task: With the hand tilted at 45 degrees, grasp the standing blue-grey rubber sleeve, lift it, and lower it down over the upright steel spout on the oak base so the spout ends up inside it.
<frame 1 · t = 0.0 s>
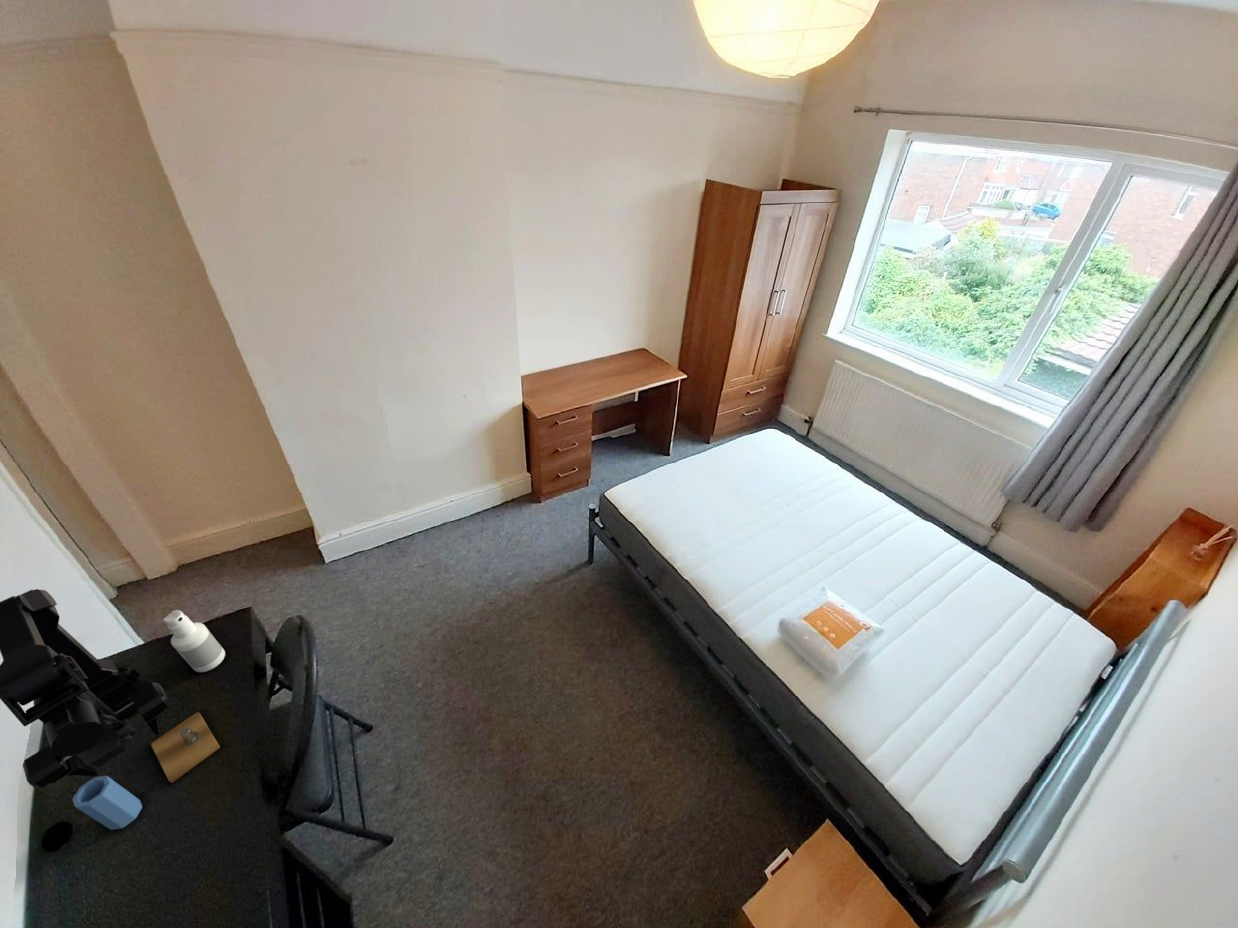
hand: (128, 752, 94), 15 cm above the table, tool pointing down, fingers open, 9 cm apart
spray bottle: (210, 660, 126), on the table
sleeve: (125, 814, 98), on the table
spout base: (186, 746, 109), on the table
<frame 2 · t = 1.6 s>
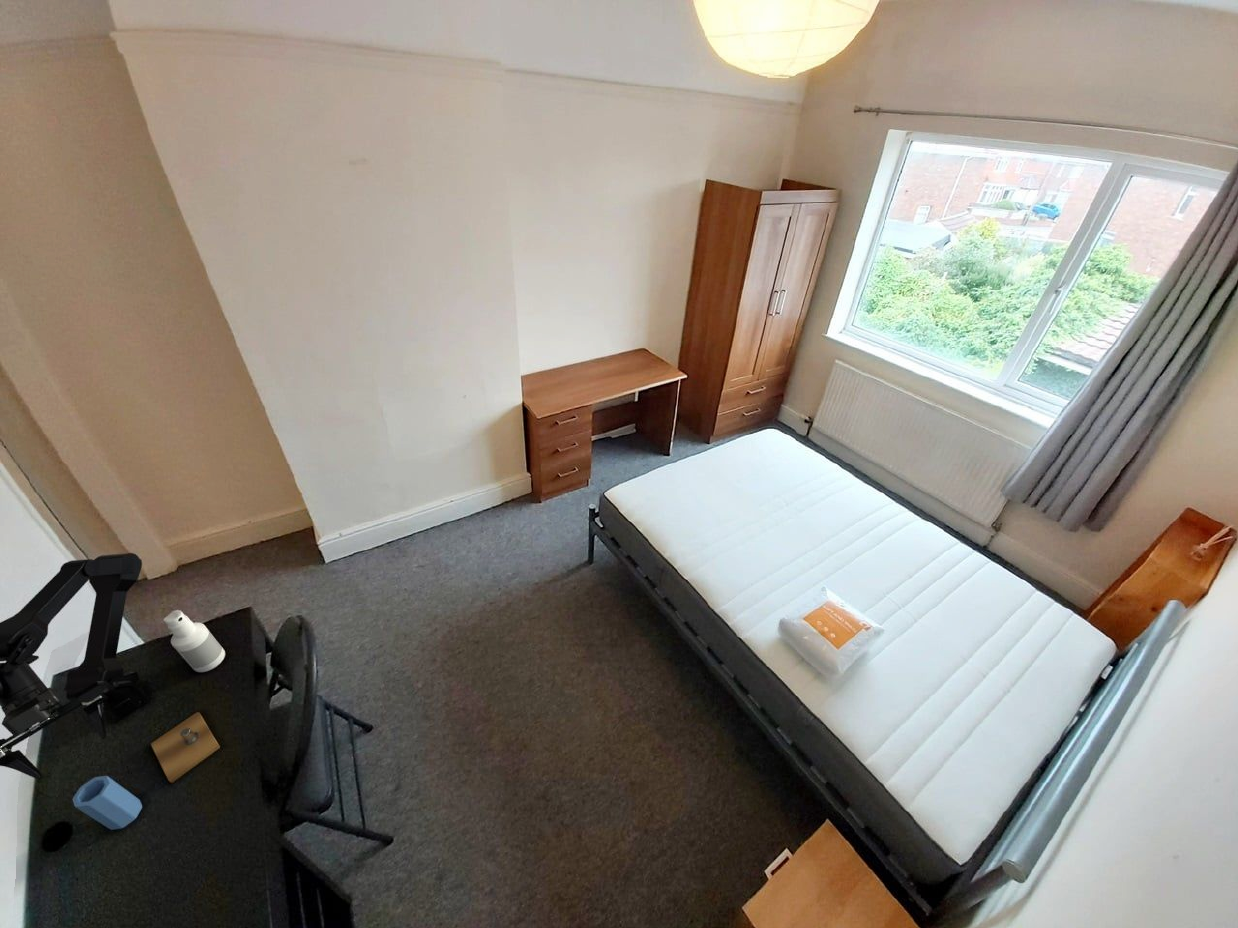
hand: (73, 757, 94), 13 cm above the table, tool tilted 45°, fingers open, 9 cm apart
nothing on the table moved.
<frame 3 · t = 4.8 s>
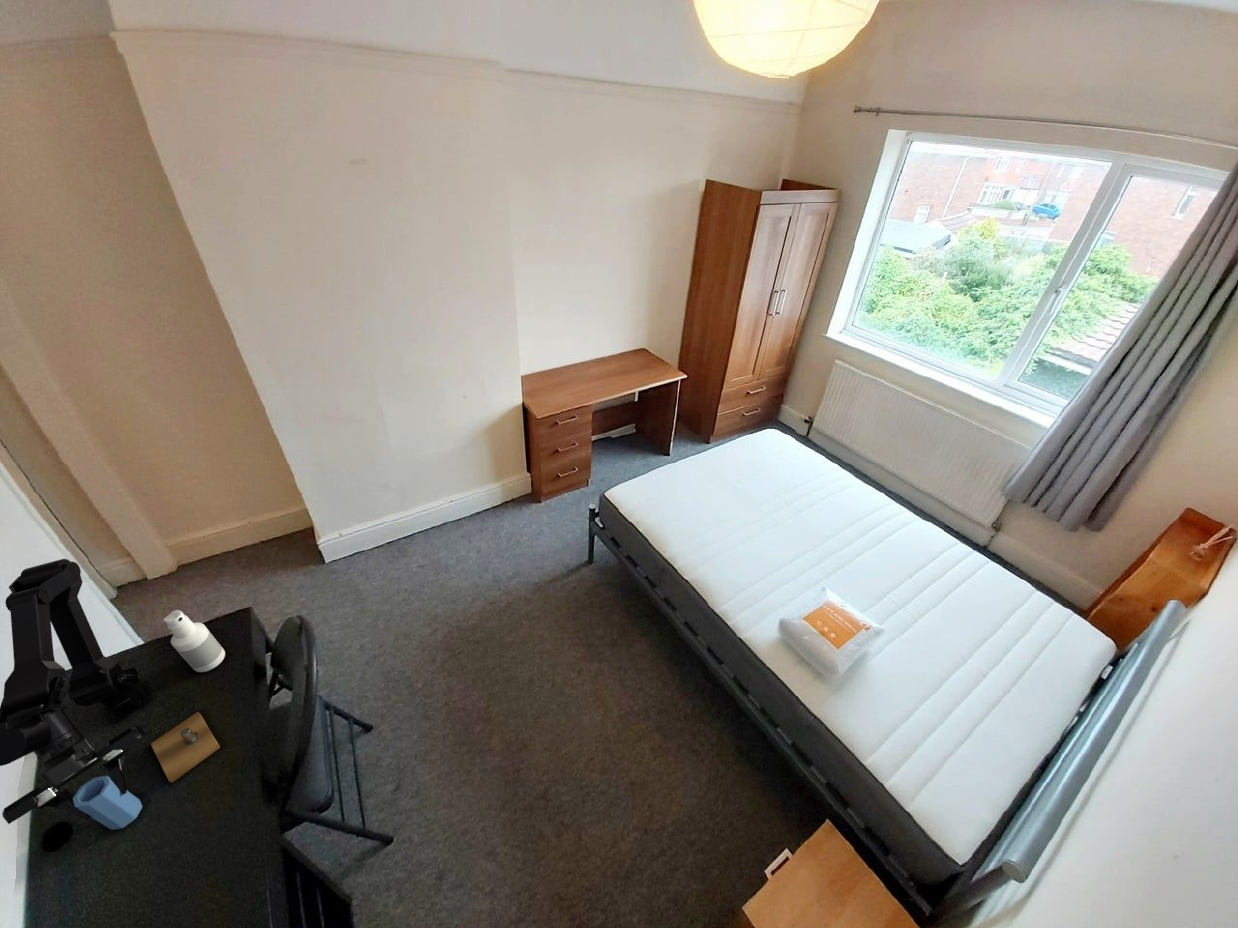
hand: (107, 805, 94), 7 cm above the table, tool tilted 45°, fingers closed on sleeve, 5 cm apart
sleeve: (125, 814, 98), on the table, touching gripper
everything else where it was.
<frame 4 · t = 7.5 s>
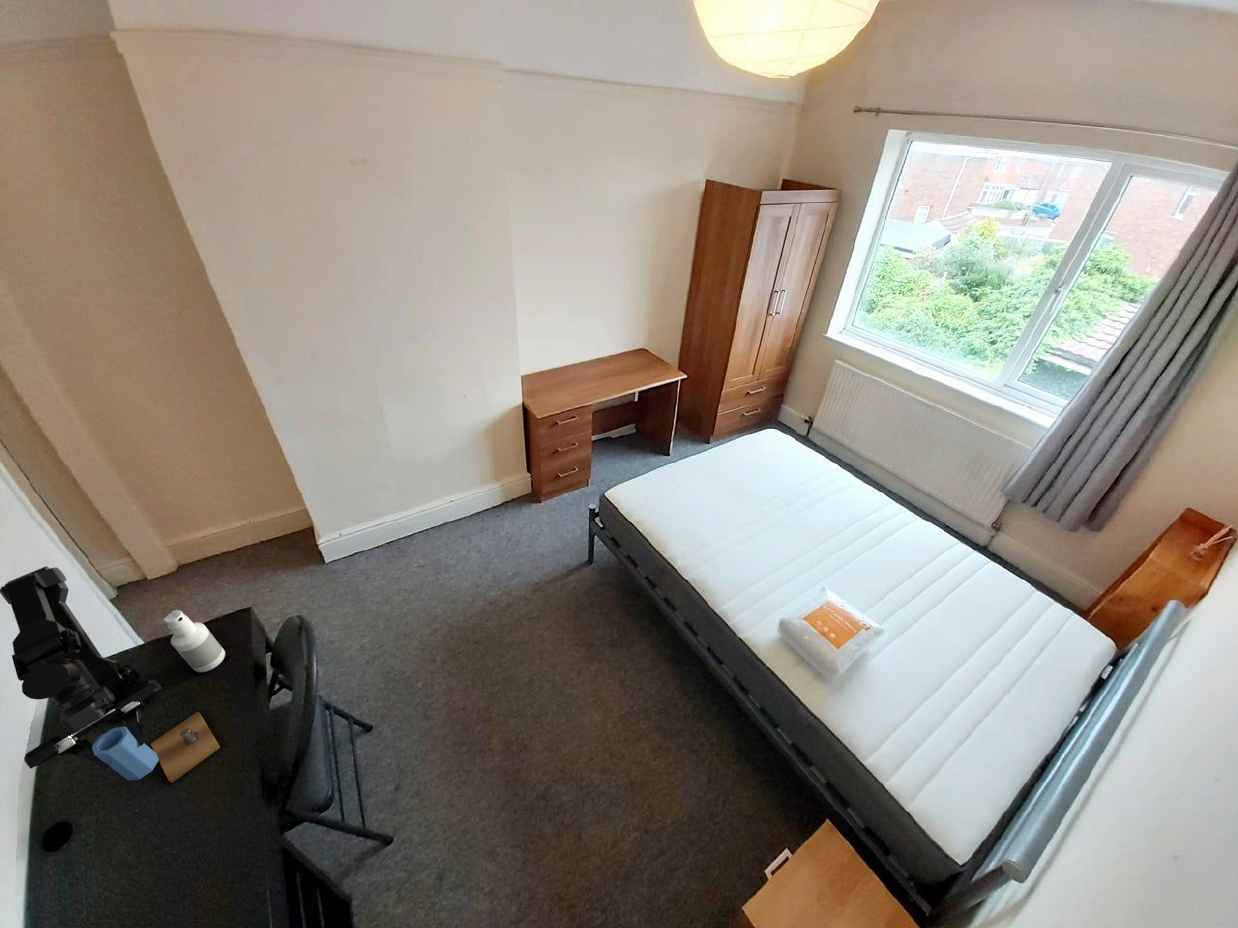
hand: (125, 755, 95), 12 cm above the table, tool tilted 45°, fingers closed on sleeve, 5 cm apart
sleeve: (142, 766, 100), point 6 cm above the table, touching gripper
everything else where it was.
when the fingers open (8 cm above the table, at t = 10.5 s): sleeve stays where it is, resting on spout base.
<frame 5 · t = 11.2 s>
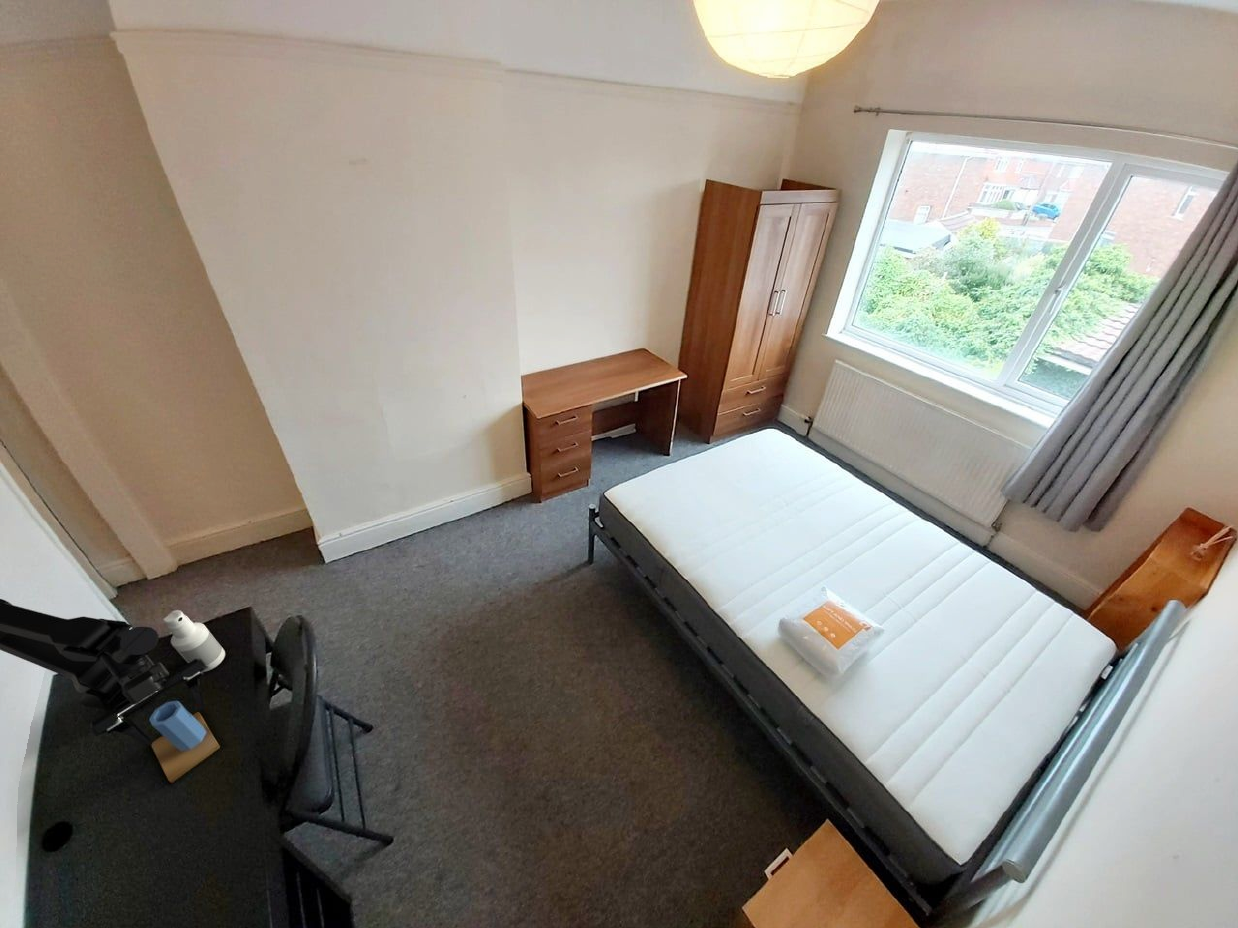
hand: (177, 726, 104), 8 cm above the table, tool tilted 45°, fingers open, 9 cm apart
sleeve: (192, 738, 109), point 1 cm above the table, touching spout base
everything else where it was.
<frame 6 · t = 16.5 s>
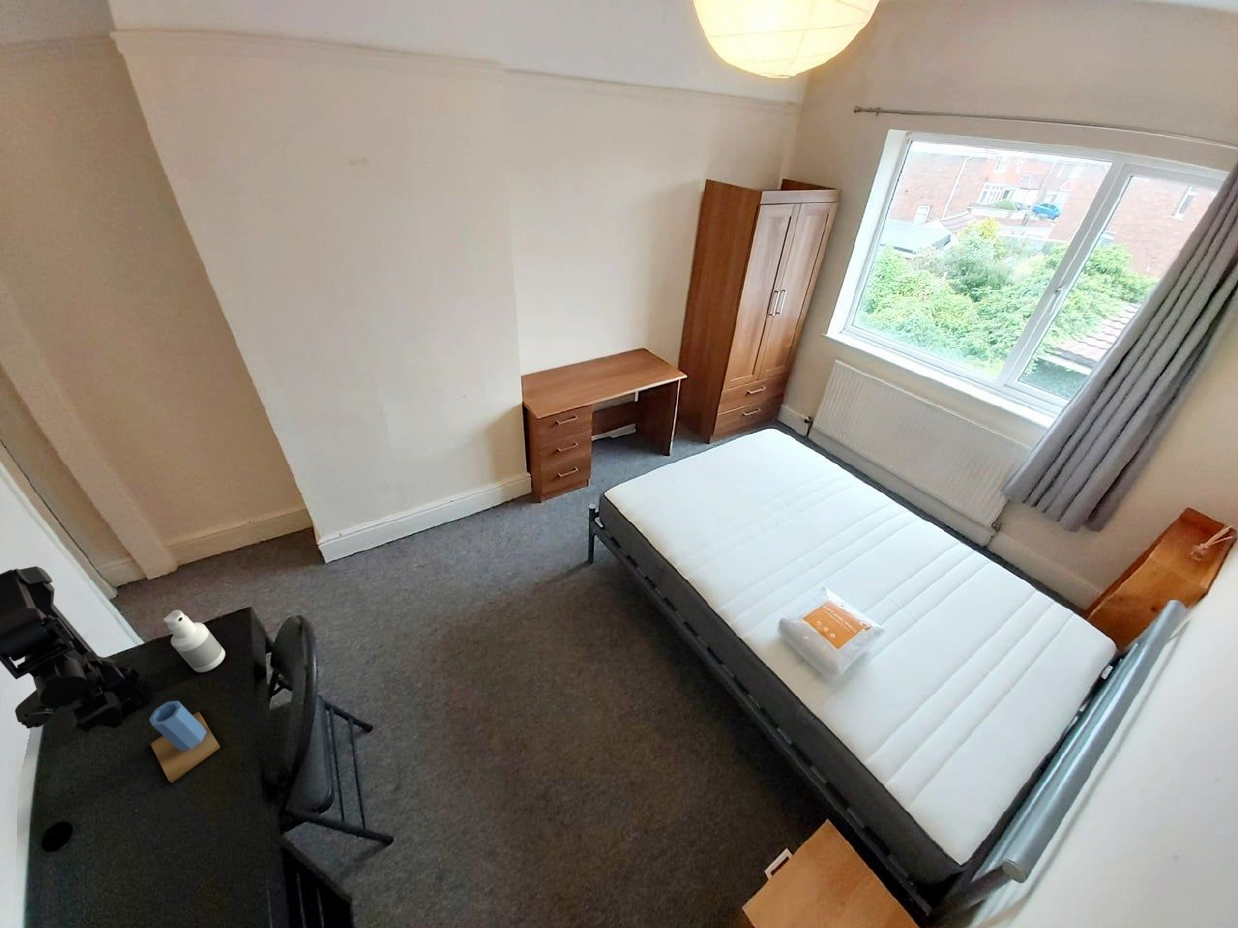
hand: (112, 711, 102), 13 cm above the table, tool pointing down, fingers open, 9 cm apart
nothing on the table moved.
at the end: sleeve 0.0 cm from the target spot on the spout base, point 1.2 cm above the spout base's base; sleeve tilted 0°; the gripper is holding nothing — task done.
